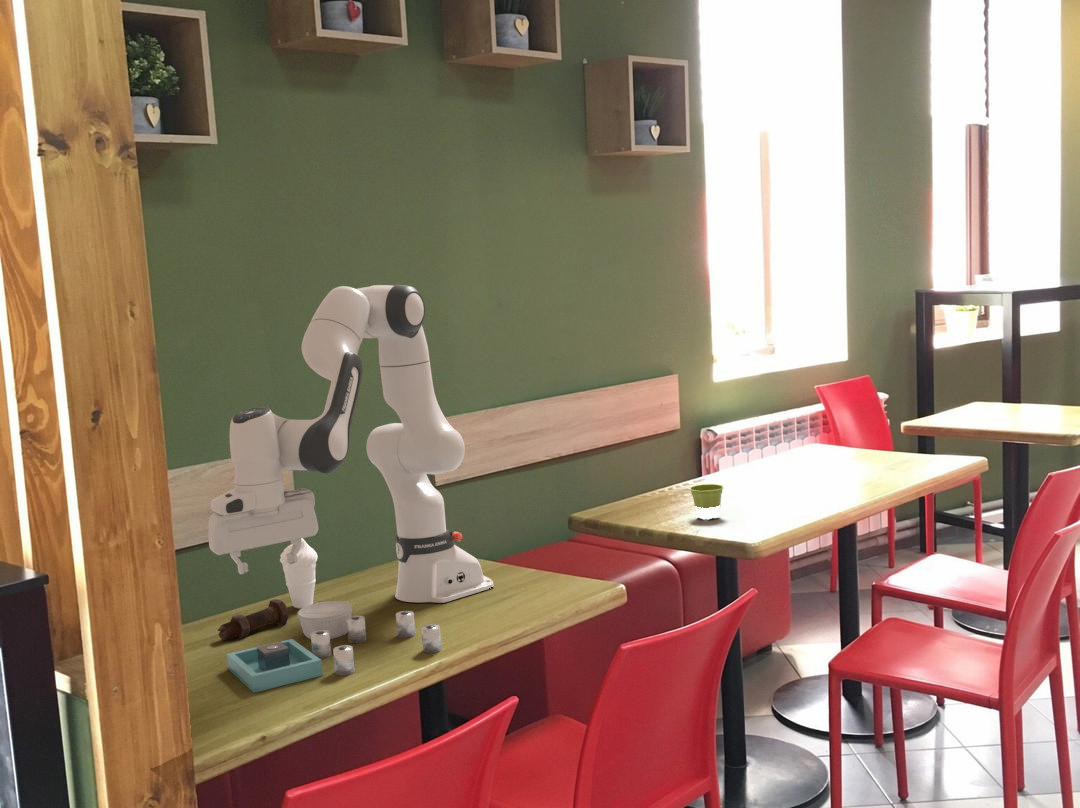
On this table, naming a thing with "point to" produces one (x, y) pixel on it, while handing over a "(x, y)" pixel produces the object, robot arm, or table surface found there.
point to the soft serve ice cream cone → (300, 574)
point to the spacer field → (358, 634)
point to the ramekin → (325, 618)
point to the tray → (257, 680)
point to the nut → (273, 656)
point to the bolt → (254, 620)
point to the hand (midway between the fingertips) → (268, 568)
